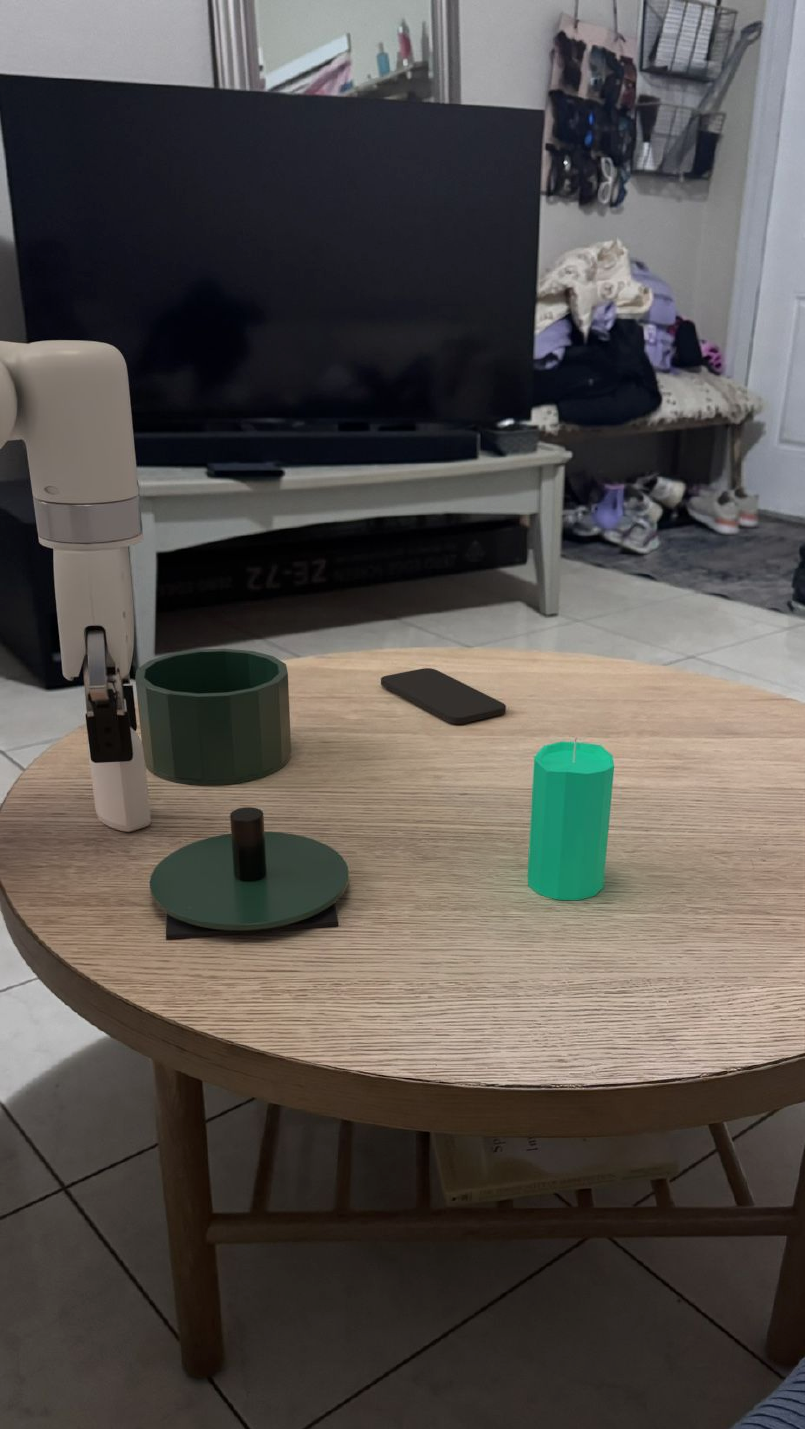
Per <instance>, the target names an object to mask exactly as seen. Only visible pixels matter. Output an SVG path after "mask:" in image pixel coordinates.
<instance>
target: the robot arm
mask: <svg viewBox="0 0 805 1429" xmlns="http://www.w3.org/2000/svg"><path fill="white" fill-rule="evenodd" d="M127 366H128V365H127V363H126V359H125V358H124V356H123V354H122V353H121V351H120V350H119V349H118V348H117V347H115V346H114V345H112V344H109V343H106V342H102V341H101V342H100V341H94V340H75V339H74V340H70V339H68V340H67V339H57V340H56V339H55V340H54V339H51V340H40V341H33V342H29V343H24V342H15V341H5V340H0V450H1V449H2V448H3V447H4V446H5V444H6V443H7V442H8V441H19V440H22V441H23V442H24V444H25V448H26V455H27V463H28V464H27V465H28V470H29V477H30V485H31V492H32V500H33V508H34V515H35V522H36V531H37V536H38V543H39V545H41V546H43V547H46V548H49V549H53V550H52V551H53V552H52V553H53V557H52V558H53V560H52V562H53V581H54V594H55V606H56V617H57V626H58V635H59V648H60V658H61V660H60V661H61V670H62V676H63V677H64V678H65V679H66V680H67V681H74V679H75V678H79V676H80V673H81V669H82V670H83V671H82V673H83V685H84V686H83V687H84V696H85V698H84V699H85V708H86V713H85V715H84V716H85V724H86V725H85V726H86V731H87V733H88V741H89V749H90V757H91V760H92V762H94V763H106V762H126V761H131V760H132V758H133V748H132V738H131V729H130V727H131V728H132V729H133V730H134V731H135V732H137V731H138V730H137V729H138V723H137V713H136V703H135V693H134V685H133V684H132V685H131V676H130V675H131V674H130V671H131V668H132V667H131V666H132V661H133V655H134V648H135V645H134V644H135V614H134V611H135V610H134V595H133V585H132V584H133V583H132V574H131V563H130V554H129V553H130V551H129V547H131V546H135V545H137V544H138V543H141V542H143V540H144V531H143V522H142V519H143V518H142V510H141V509H142V508H141V499H140V490H139V488H140V487H139V481H138V480H139V479H138V469H137V468H138V467H137V459H136V458H137V457H136V449H135V438H134V428H133V426H134V425H133V414H132V406H131V394H130V382H129V375H128V374H129V373H128V367H127ZM108 683H112V684H113V687H114V690H115V693H114V690H113V689H109V685H108ZM115 697H116V698H115ZM124 699H125V700H126V708H127V711H125V708H124ZM87 733H86V734H87Z"/></svg>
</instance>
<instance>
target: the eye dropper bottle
mask: <svg viewBox="0 0 805 1429" xmlns="http://www.w3.org/2000/svg"><path fill="white" fill-rule="evenodd" d="M108 685H109V689H113V690H114V687H113V684H112V683H108ZM114 693H115V690H114ZM115 698H116V697H115ZM124 708H125V711H127V708H126V700H125V699H124ZM130 729H131V738H132V748H133V758H132V760H131V761H126V762H106V763H94V762H92V760H91V757H90V749H89V741H88V733H86V743H87V752H88V762H89V769H90V777H91V778H90V779H91V786H92V794H93V801H94V809H95V814H96V817H97V818H98V820H99V821H100V822H101V823H102V824H104V826H106V827H109V828H111V829H113V830H116V831H121V832H126V833H130V832H134V831H137V830H141V829H144V828H147V827H148V826H150V825H151V822H152V819H151V809H150V808H151V807H150V799H149V789H148V779H147V771H146V770H147V769H146V765H145V760H144V752H143V746H142V740H141V737H140V736H139V735H138V733H137V731H134V730H133V729H132V728H131V727H130Z"/></svg>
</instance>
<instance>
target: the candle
mask: <svg viewBox="0 0 805 1429" xmlns="http://www.w3.org/2000/svg"><path fill="white" fill-rule="evenodd" d="M614 772H615V762H614V757H613V755H612V753H610V752H609V751H608V750H607V749H606V748H605V747H603V745H601V744H597V743H587V742H577V737H576V736H575V737H574V741H558V742H557V741H556V742H552V743H549V744H546V745H543V746H542V747H541V748H540V749H539V750H538V752H537V753H536V754H535V755H534V756H533V771H532V789H531V804H530V807H531V808H530V822H529V823H530V824H529V841H528V856H527V857H528V860H527V874H526V876H527V886H528V887H529V888H531V889H532V890H533V891H535V893H536V894H538V895H541V896H544V897H547V898H550V899H552V900H556V901H580V900H584V899H589V898H592V897H595V896H596V895H597V894H598V893H600V892H601V890H602V889H604V882H605V872H606V864H607V863H606V862H607V861H606V860H607V850H608V842H609V841H608V839H609V829H610V828H609V827H610V818H611V809H612V808H611V806H612V795H613V787H614V786H613V785H614V784H613V783H614V774H615V773H614Z"/></svg>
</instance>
